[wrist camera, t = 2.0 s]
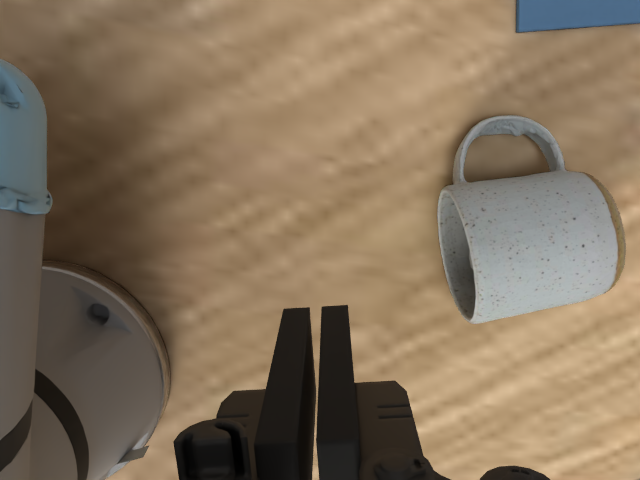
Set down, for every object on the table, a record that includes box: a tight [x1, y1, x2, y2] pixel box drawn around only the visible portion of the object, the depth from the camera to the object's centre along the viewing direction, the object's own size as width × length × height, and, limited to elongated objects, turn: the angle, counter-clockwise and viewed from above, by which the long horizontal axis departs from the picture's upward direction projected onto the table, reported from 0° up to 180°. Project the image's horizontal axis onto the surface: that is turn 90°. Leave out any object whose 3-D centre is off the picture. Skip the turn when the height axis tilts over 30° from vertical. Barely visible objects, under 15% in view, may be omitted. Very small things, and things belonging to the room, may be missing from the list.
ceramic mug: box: [437, 115, 626, 324], centre depth 30 cm, size 11×8×8 cm
